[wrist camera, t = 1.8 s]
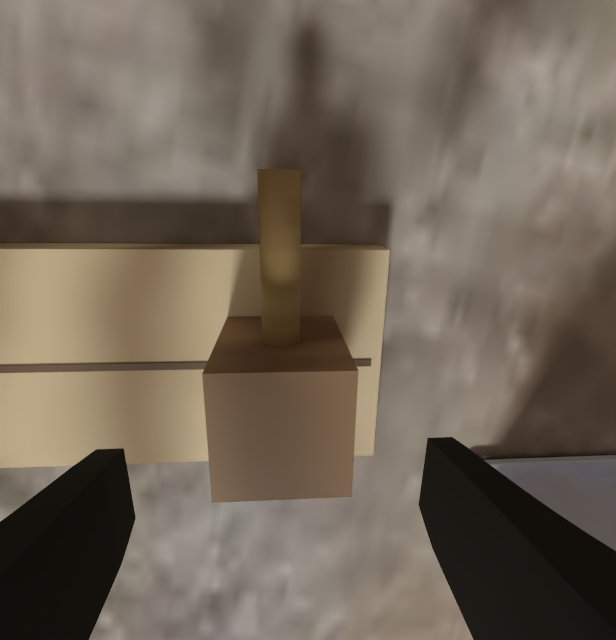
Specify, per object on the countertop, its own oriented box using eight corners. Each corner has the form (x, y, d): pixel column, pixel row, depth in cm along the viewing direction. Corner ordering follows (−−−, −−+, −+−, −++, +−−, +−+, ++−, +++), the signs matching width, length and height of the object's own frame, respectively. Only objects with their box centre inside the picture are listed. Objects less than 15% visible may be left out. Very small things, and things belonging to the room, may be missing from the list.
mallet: (337, 176, 13) (369, 164, 9) (330, 408, 16) (351, 496, 11) (219, 174, 13) (185, 160, 8) (232, 410, 16) (212, 502, 11)
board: (379, 244, 16) (390, 250, 14) (366, 434, 18) (373, 455, 17) (-100, 242, 14) (-143, 248, 13) (-34, 447, 17) (-63, 471, 16)
